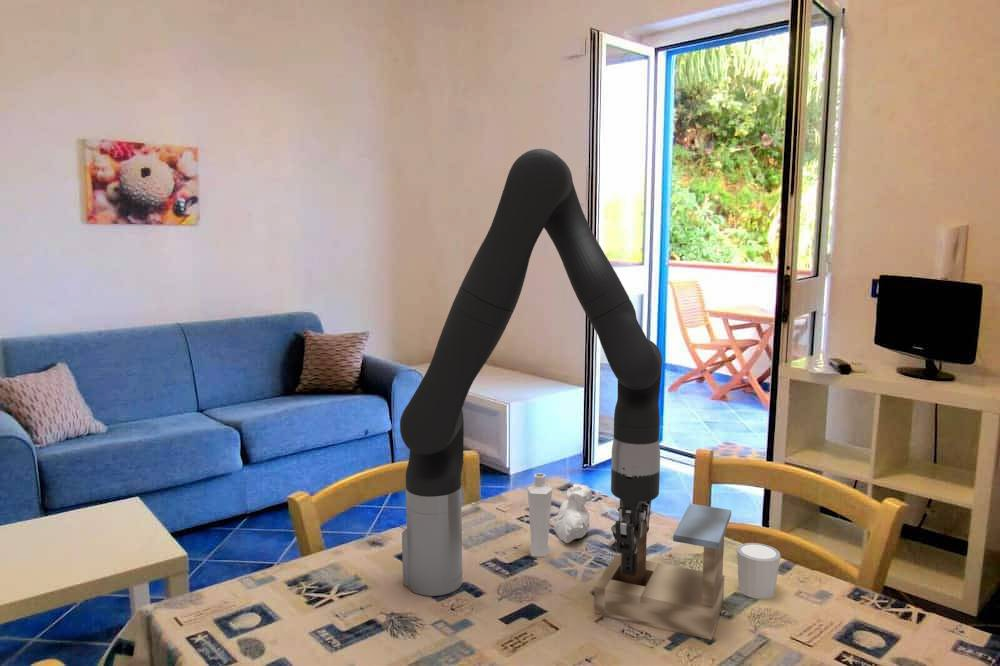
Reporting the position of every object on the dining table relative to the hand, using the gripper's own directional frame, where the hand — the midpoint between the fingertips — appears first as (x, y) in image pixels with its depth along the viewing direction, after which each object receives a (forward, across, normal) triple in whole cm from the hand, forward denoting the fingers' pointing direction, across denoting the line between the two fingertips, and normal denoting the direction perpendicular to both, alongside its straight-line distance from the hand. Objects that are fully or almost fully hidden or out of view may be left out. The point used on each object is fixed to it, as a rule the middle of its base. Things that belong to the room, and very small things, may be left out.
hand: (632, 567), depth 118 cm
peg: (+4, 0, 0) cm, 4 cm away
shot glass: (+6, -12, +18) cm, 22 cm away
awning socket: (+6, 0, +4) cm, 7 cm away
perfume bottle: (+6, -10, -20) cm, 23 cm away
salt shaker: (+6, -19, -6) cm, 21 cm away
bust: (+6, -20, -17) cm, 27 cm away
